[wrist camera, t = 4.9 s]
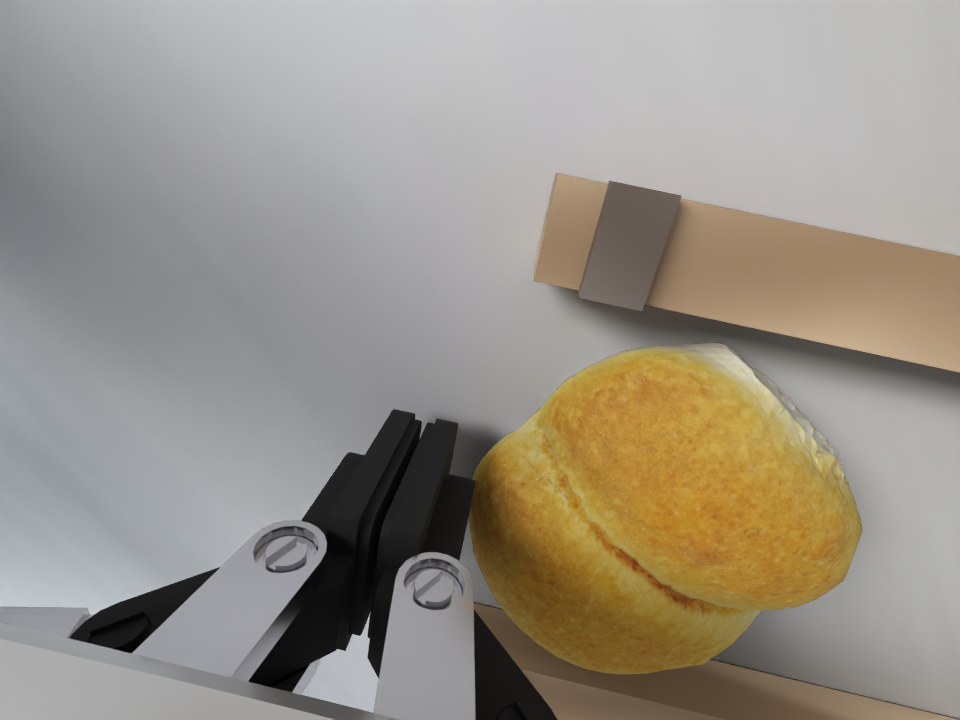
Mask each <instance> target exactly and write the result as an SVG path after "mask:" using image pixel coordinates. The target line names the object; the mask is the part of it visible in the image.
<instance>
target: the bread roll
mask: <svg viewBox="0 0 960 720" xmlns="http://www.w3.org/2000/svg"><path fill="white" fill-rule="evenodd" d="M472 480H476V483H475V487H474V492H473V497H472V502H471V506H470V511H469V521H470V532H471V538H472V544H473V551H474V554H475V557H476V560H477V563H478V566H479V568H480V570H481V572H482V574H483V576H484V578H485V580H486V582H487V584H488V586H489V588H490V590H491V592H492V594H493V595H494V597H495V599H496V600H497V602H498V603H499V605H500V606H501V607H502V609H503V610H504V611H505V613H506V614H507V615H508V616H509V617H510V618H511V620H512V621H513V622H514V623H515V624H516V625H517V626H518V627H519V628H520V629H521V630H522V631H523V632H524V633H526V634H527V635H528V636H529V637H530V638H531V639H532V640H534V641H535V642H536V643H537V644H539V645H540V646H542V647H543V648H545V649H546V650H547V651H549V652H550V653H552V654H553V655H555V656H556V657H559V658H561V659H563V660H565V661H567V662H569V663H571V664H574V665H577V666H579V667H582V668H585V669H588V670H593V671H597V672H603V673H611V674H646V673H652V672H657V671H662V670H668V669H677V668H682V667H688V666H693V665H701V664H704V663H706V662H707V661H708V660H709V659H711V658H712V657H714V656H716V655H718V654H719V653H721V652H722V651H724V650H725V649H726V648H728V647H729V646H731V645H732V644H733V643H734V642H735V641H736V640H737V639H738V638H739V637H740V636H741V635H742V634H743V633H744V632H745V631H746V629H747V628H748V627H749V626H750V625H751V623H752V622H753V621H754V620H755V618H756V617H757V616H758V615H759V613H760V612H761V611H762V610H778V609H785V608H791V607H797V606H799V605H802V604H805V603H808V602H810V601H813V600H816V599H817V598H819V597H820V596H822V595H824V594H825V593H827V592H828V591H830V590H831V589H833V588H834V587H835V586H837V585H838V584H840V583H841V582H842V581H844V578H845V576H846V573H847V571H848V569H849V566H850V564H851V561H852V559H853V556H854V553H855V550H856V547H857V544H858V541H859V539H860V536H861V533H862V524H861V519H860V516H859V513H858V510H857V508H856V503H855V500H854V498H853V495H852V492H851V490H850V487H849V484H848V482H847V480H846V477H845V476H844V471H843V468H842V466H841V464H840V461H839V460H838V459H837V458H836V457H834V448H833V447H832V446H831V445H830V443H829V442H828V441H827V440H825V439H824V437H823V436H822V435H821V434H820V433H819V432H818V431H817V429H815V428H814V426H813V425H812V424H811V423H810V422H809V421H808V420H807V419H806V417H805V416H804V415H803V414H802V413H801V412H800V411H799V410H798V409H797V408H796V407H795V406H794V404H793V402H792V401H790V400H789V399H788V398H787V397H786V396H785V395H784V394H782V393H781V392H780V391H779V390H778V389H777V387H776V386H775V385H774V384H773V382H772V381H771V380H769V379H767V378H766V377H765V376H764V375H763V374H762V373H761V372H759V371H758V370H756V369H753V368H750V367H749V366H748V365H747V364H746V363H745V361H744V360H743V359H742V357H741V356H740V355H739V354H738V353H737V352H736V351H734V350H732V349H730V348H728V347H727V346H726V345H723V344H718V343H704V344H691V345H680V346H650V347H640V348H635V349H631V350H626V351H621V352H619V353H616V354H614V355H612V356H610V357H607V358H605V359H603V360H600V361H598V362H596V363H594V364H592V365H590V366H588V367H587V368H585V369H583V370H581V371H580V372H578V373H577V374H575V375H574V376H572V377H571V378H569V379H567V380H566V381H565V382H564V383H563V384H562V385H561V386H560V387H559V388H558V389H557V390H556V391H555V392H554V393H553V394H552V395H551V396H550V397H549V399H548V400H547V401H546V402H545V403H544V405H543V406H542V408H540V409H539V410H538V411H537V412H536V413H535V414H534V415H533V416H531V417H530V418H529V419H528V420H527V421H526V422H525V423H524V424H523V425H522V426H521V427H519V428H518V429H517V430H515V431H513V432H511V433H509V434H508V435H506V436H505V437H504V438H503V439H501V440H500V441H499V442H498V443H496V444H495V445H494V446H493V447H492V448H491V449H490V450H489V451H488V452H487V453H486V455H485V456H484V457H483V458H482V460H481V462H480V463H479V465H478V466H477V468H476V470H475V473H474V476H473V478H472Z"/></svg>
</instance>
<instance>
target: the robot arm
mask: <svg viewBox="0 0 960 720" xmlns="http://www.w3.org/2000/svg"><path fill="white" fill-rule="evenodd" d="M421 426H422V421H419V420H415V414H414V413H409V412H405V411H400V410H395V409H393V411H392V412H391V414H390V415H389V417H388V418H387V420H386V422H385V423H384V425H383V427H382V428H381V430H380V432H379V433H378V435H377V436H376V438H375V440H374V441H373V443H372V445H371V446H370V448H369V449H368V451H367V453H366V454H365V455H360V454H356V453H351V452H350V453H348V454H347V455H346V456H345V457H344V459H343V460H342V462H341V463H340V465H339V466H338V467H337V469H336V470H335V472H334V473H333V475H332V476H331V478H330V479H329V481H328V482H327V484H326V485H325V487H324V488H323V490H322V491H321V493H320V494H319V495H318V497H317V498H316V500H315V501H314V503H313V504H312V506H311V507H310V509H309V510H308V512H307V513H306V515H305V516H304V518H303V519H302V521H299V520H298V521H282V522H278V523H274V524H271V525H269V526H267V527H265V528H263V529H261V530H260V531H259V532H257V533H256V534H255V535H253V536H252V537H251V538H250V539H249V540H248V541H247V542H246V543H245V544H244V545H243V546H242V547H241V548H240V549H239V550H238V551H237V552H236V553H235V554H234V555H233V556H232V557H231V558H230V559H229V560H228V561H226V562H225V563H224V564H223V565H222V566H221V567H219V568H216V569H214V570H211V571H208V572H205V573H202V574H199V575H196V576H194V577H191V578H188V579H185V580H182V581H179V582H176V583H174V584H171V585H168V586H165V587H162V588H159V589H157V590H154V591H151V592H148V593H145V594H142V595H139V596H137V597H134V598H131V599H128V600H125V601H122V602H119V603H117V604H114V605H112V606H110V607H108V608H106V609H103V610H101V611H99V612H98V613H96V614H95V615H89V611H88V608H63V607H0V720H558V719H557V718H556V716H555V714H554V713H553V711H552V709H551V708H550V707H549V705H548V704H547V703H546V701H545V700H544V699H543V698H542V696H541V695H540V694H539V692H538V691H537V690H536V689H535V687H534V686H533V685H532V683H531V682H530V681H529V680H528V678H527V677H526V676H525V674H524V673H523V672H522V670H521V669H520V668H519V667H518V665H517V664H516V663H515V661H514V660H513V659H512V658H511V656H510V655H509V654H508V652H507V651H506V650H505V649H504V647H503V646H502V645H501V643H500V642H499V641H498V640H497V638H496V637H495V636H494V634H493V633H492V632H491V630H490V629H489V628H488V627H487V625H486V624H485V623H484V621H483V620H482V619H481V618H480V616H479V615H478V614H477V612H476V611H475V610H474V600H473V583H472V578H471V575H470V574H469V572H468V570H467V569H466V567H465V566H464V565H463V564H462V563H460V562H459V559H460V554H461V550H462V545H463V540H464V535H465V530H466V526H467V521H468V516H469V511H470V506H471V502H472V497H473V492H474V487H475V483H476V480H472V479H468V478H463V477H459V476H454V475H450V474H449V472H450V467H451V461H452V456H453V450H454V445H455V439H456V434H457V428H458V423H455V422H450V421H446V420H441V419H437V420H436V422H435V424H433V423H427V425H426V427H425V429H424V431H423V434H422V436H421V438H420V433H421ZM370 611H371V612H370ZM369 614H370V621H369V629H368V638H370V643H369V651H368V659H369V661H370V663H371V665H372V667H373V669H374V671H375V673H376V674H377V676H378V678H379V681H378V687H377V693H376V699H375V705H374V712H373V713H372V712H368V711H364V710H360V709H356V708H352V707H348V706H344V705H340V704H336V703H332V702H328V701H324V700H320V699H315V698H311V697H307V696H303V695H302V694H303V692H304V690H305V689H306V687H307V686H308V684H309V682H310V681H311V679H312V677H313V676H314V674H315V672H316V670H317V667H318V665H319V659H320V658H322V657H324V656H326V655H328V654H330V653H332V652H333V651H335V650H336V649H340V650H344V651H346V648H347V646H348V643H349V641H350V638H351V636H352V634H355V635H359V636H360V635H361V634H362V632H363V629H364V627H365V624H366V622H367V619H368V616H369Z"/></svg>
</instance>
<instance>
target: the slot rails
mask: <svg viewBox="0 0 960 720" xmlns="http://www.w3.org/2000/svg"><path fill="white" fill-rule="evenodd" d="M534 281H536V282H541V283H546V284H550V285H555V286H560V287H564V288H569V289H574V290H578V295H579V298H581V299H586V300H591V301H595V302H600V303H604V304H609V305H614V306H618V307H623V308H628V309H632V310H637V311H643V308H644V305H648V306H653V307H657V308H662V309H667V310H671V311H676V312H681V313H685V314H690V315H695V316H699V317H704V318H709V319H713V320H718V321H723V322H727V323H732V324H737V325H741V326H746V327H751V328H755V329H760V330H764V331H769V332H774V333H778V334H783V335H788V336H792V337H797V338H802V339H806V340H811V341H816V342H820V343H825V344H830V345H834V346H839V347H844V348H848V349H853V350H858V351H862V352H867V353H872V354H876V355H881V356H886V357H890V358H895V359H899V360H904V361H909V362H913V363H918V364H923V365H927V366H932V367H937V368H941V369H946V370H951V371H955V372H960V256H956V255H951V254H947V253H942V252H937V251H932V250H927V249H922V248H917V247H913V246H908V245H903V244H898V243H893V242H888V241H883V240H879V239H874V238H869V237H864V236H859V235H854V234H849V233H845V232H840V231H835V230H830V229H825V228H820V227H816V226H811V225H806V224H801V223H796V222H791V221H786V220H782V219H777V218H772V217H767V216H762V215H757V214H752V213H748V212H743V211H738V210H733V209H728V208H723V207H718V206H714V205H709V204H704V203H699V202H694V201H689V200H685V199H681V196H680V195H675V194H671V193H666V192H661V191H656V190H651V189H646V188H641V187H637V186H632V185H627V184H622V183H617V182H612V181H609V183H608V184H607V183H602V182H597V181H592V180H588V179H583V178H578V177H573V176H568V175H563V174H558V173H556V175H555V179H554V184H553V188H552V192H551V196H550V201H549V205H548V209H547V213H546V218H545V222H544V226H543V230H542V235H541V239H540V243H539V247H538V252H537V256H536V260H535V265H534ZM474 610H475V611H476V612H477V614H478V615H479V616H480V618H481V619H482V620H483V621H484V623H485V624H486V625H487V627H488V628H489V629H490V630H491V632H492V633H493V634H494V636H495V637H496V638H497V640H498V641H499V642H500V643H501V645H502V646H503V647H504V649H505V650H506V651H507V652H508V654H509V655H510V656H511V658H512V659H513V660H514V661H515V663H516V664H517V665H518V667H519V668H520V669H521V670H522V672H523V673H524V674H525V676H526V677H527V678H528V680H529V681H530V682H531V683H532V685H533V686H534V687H535V689H536V690H537V691H538V692H539V694H540V695H541V696H542V698H543V699H544V700H545V701H546V703H547V704H548V705H549V707H550V708H551V709H552V711H553V713H554V714H555V716H556V718H557V719H558V720H959V719H954V718H950V717H946V716H942V715H938V714H934V713H930V712H925V711H921V710H917V709H913V708H909V707H905V706H900V705H896V704H892V703H888V702H884V701H880V700H876V699H871V698H867V697H863V696H859V695H855V694H851V693H846V692H842V691H838V690H834V689H830V688H826V687H822V686H817V685H813V684H809V683H805V682H801V681H797V680H792V679H788V678H784V677H780V676H776V675H772V674H768V673H763V672H759V671H755V670H751V669H747V668H743V667H738V666H734V665H730V664H726V663H722V662H718V661H714V660H708V661H707V662H706V663H704V664H701V665H693V666H688V667H682V668H677V669H668V670H662V671H657V672H652V673H646V674H611V673H603V672H597V671H593V670H588V669H585V668H582V667H579V666H577V665H574V664H571V663H569V662H567V661H565V660H563V659H561V658H559V657H556V656H555V655H553V654H552V653H550V652H549V651H547V650H546V649H545V648H543V647H542V646H540V645H539V644H537V643H536V642H535V641H534V640H532V639H531V638H530V637H529V636H528V635H527V634H526V633H524V632H523V631H522V630H521V629H520V628H519V627H518V626H517V625H516V624H515V623H514V622H513V621H512V620H511V618H510V617H509V616H508V615H507V614H506V613H505V611H504V610H502V609H498V608H493V607H489V606H485V605H481V604H477V603H474Z"/></svg>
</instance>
